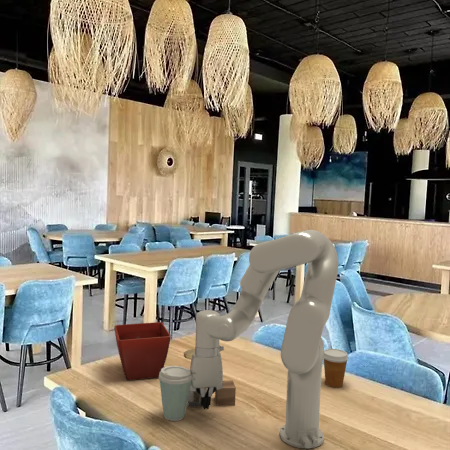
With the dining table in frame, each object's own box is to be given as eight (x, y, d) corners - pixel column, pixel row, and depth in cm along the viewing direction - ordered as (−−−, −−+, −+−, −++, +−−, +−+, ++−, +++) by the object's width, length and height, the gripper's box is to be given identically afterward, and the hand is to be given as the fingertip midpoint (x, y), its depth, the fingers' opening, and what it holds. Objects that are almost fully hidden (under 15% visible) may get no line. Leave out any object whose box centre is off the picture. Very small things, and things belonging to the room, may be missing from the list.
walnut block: (235, 405, 147) (235, 387, 146) (217, 406, 146) (217, 388, 146) (232, 397, 153) (232, 380, 152) (214, 398, 152) (215, 380, 152)
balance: (213, 409, 143) (214, 373, 143) (185, 410, 142) (186, 374, 141) (206, 380, 166) (207, 349, 165) (182, 381, 165) (183, 349, 164)
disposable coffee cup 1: (175, 405, 146) (176, 360, 145) (199, 416, 139) (200, 369, 138) (150, 416, 137) (151, 369, 136) (174, 429, 131) (176, 379, 130)
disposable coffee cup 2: (318, 385, 164) (319, 354, 164) (324, 376, 173) (326, 346, 172) (343, 391, 160) (345, 359, 159) (349, 382, 168) (351, 351, 168)
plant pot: (117, 385, 159) (118, 339, 158) (113, 366, 177) (114, 324, 176) (170, 380, 165) (171, 336, 164) (161, 362, 183) (162, 321, 182)
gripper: (227, 345, 144) (225, 400, 145) (181, 347, 141) (180, 403, 142) (233, 353, 137) (231, 411, 138) (185, 356, 134) (183, 415, 135)
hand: (205, 407), depth 140 cm, fingers closed
